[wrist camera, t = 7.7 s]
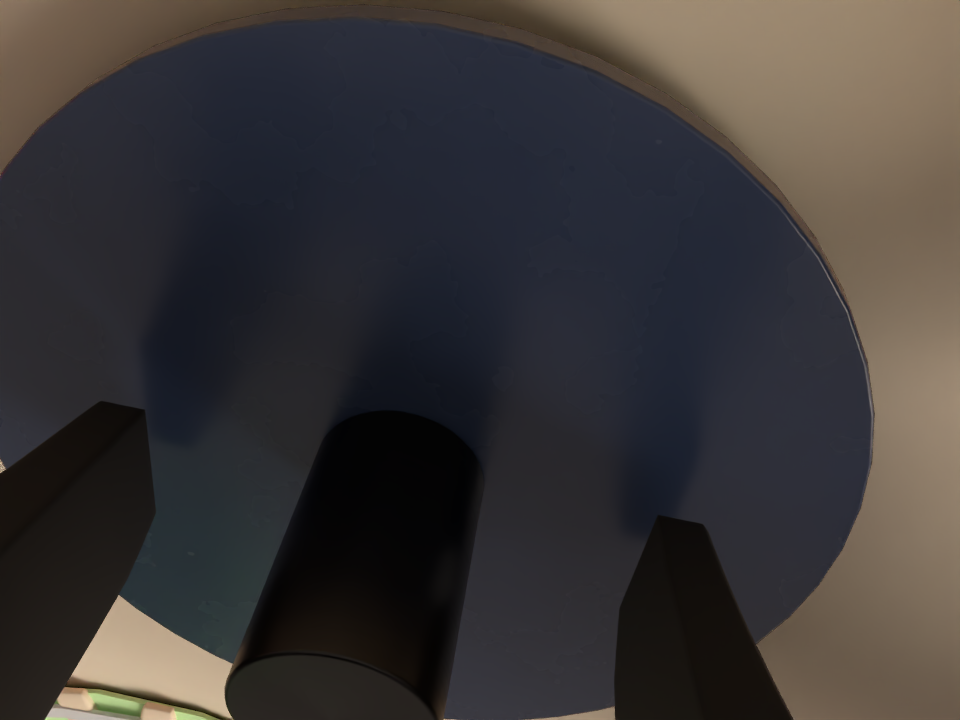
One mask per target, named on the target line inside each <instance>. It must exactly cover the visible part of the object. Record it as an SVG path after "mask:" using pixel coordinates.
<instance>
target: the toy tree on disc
mask: <svg viewBox="0 0 960 720" xmlns="http://www.w3.org/2000/svg"><path fill="white" fill-rule="evenodd" d="M45 720H220V719H217V718H215V717H212V716H210V715H207V714H205V713H202V712H198V711H194V710H189V709H185V708H180V707H176V706H171V705H167V704H162V703H158V702H154V701H149V700H145V699H140V698H136V697H131V696H127V695H123V694H118V693H114V692H109V691H105V690H99V689H84V688H69V687H64V688H63V690H62V692H61V693H60V695H59V697H58V698H57V700H56V702H55V703H54V705H53V707H52V709H51V710H50V712H49V714H48V715H47V717H46V719H45Z"/></svg>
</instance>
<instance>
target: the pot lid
mask: <svg viewBox="0 0 960 720" xmlns="http://www.w3.org/2000/svg"><path fill="white" fill-rule="evenodd" d="M100 401H105V402H110V403H115V404H120V405H124V406H129V407H134V408H139V409H144V410H145V413H146V422H147V431H148V441H149V450H150V460H151V469H152V478H153V488H154V497H155V507H156V514H155V517H154V519H153V521H152V524H151V526H150V529H149V531H148V533H147V536H146V538H145V540H144V543H143V545H142V548H141V550H140V552H139V554H138V557H137V559H136V561H135V563H134V566H133V568H132V570H131V572H130V575H129V577H128V579H127V581H126V583H125V584H124V586H123V588H122V590H121V591H120V593H119V595H120V596H121V597H122V598H124V599H125V600H126V601H127V602H129V603H130V604H131V605H133V606H134V607H135V608H136V609H138V610H139V611H141V612H143V613H144V614H146V615H147V616H149V617H150V618H152V619H153V620H155V621H156V622H158V623H159V624H161V625H162V626H164V627H165V628H167V629H168V630H170V631H172V632H173V633H175V634H176V635H178V636H180V637H182V638H184V639H186V640H187V641H189V642H191V643H193V644H195V645H196V646H198V647H200V648H202V649H204V650H206V651H207V652H209V653H211V654H213V655H215V656H217V657H219V658H222V659H224V660H226V661H228V662H230V663H232V664H233V665H232V668H231V670H230V673H229V675H228V678H227V680H226V685H225V701H226V705H227V708H228V711H229V713H230V715H231V716H232V718H233V719H234V720H443V719H454V720H527V719H539V718H552V717H561V716H567V715H573V714H579V713H585V712H592V711H598V710H602V709H606V708H610V707H614V706H615V694H614V674H615V659H616V644H617V632H618V620H619V608H620V605H621V603H622V601H623V598H624V596H625V593H626V591H627V589H628V586H629V584H630V581H631V579H632V576H633V574H634V572H635V569H636V567H637V564H638V562H639V559H640V557H641V555H642V552H643V550H644V547H645V545H646V543H647V540H648V538H649V535H650V533H651V530H652V528H653V526H654V523H655V521H656V518H657V516H658V515H662V516H666V517H671V518H676V519H681V520H686V521H691V522H696V523H701V524H703V525H704V526H705V528H706V529H707V530H708V532H709V535H710V537H711V540H712V543H713V545H714V548H715V550H716V553H717V555H718V558H719V561H720V563H721V565H722V568H723V570H724V573H725V575H726V578H727V580H728V583H729V585H730V587H731V590H732V592H733V594H734V597H735V599H736V601H737V604H738V606H739V608H740V611H741V613H742V615H743V617H744V620H745V622H746V624H747V626H748V628H749V631H750V633H751V635H752V637H753V639H754V641H755V644H757V643H758V642H760V641H761V640H762V639H763V638H764V637H766V636H767V635H768V634H769V633H770V632H772V631H773V630H774V629H775V628H777V627H778V626H779V625H780V624H781V623H783V622H784V621H785V620H786V619H788V618H789V617H790V616H791V615H792V614H793V613H794V611H795V610H796V609H797V608H798V607H799V606H800V605H801V604H802V603H803V602H804V601H805V599H806V598H807V597H808V596H809V595H810V594H811V593H812V592H813V591H814V590H815V589H816V587H817V586H818V585H819V584H820V582H821V581H822V579H823V578H824V576H825V575H826V573H827V572H828V570H829V569H830V567H831V566H832V564H833V563H834V561H835V560H836V558H837V557H838V555H839V554H840V552H841V551H842V549H843V547H844V545H845V542H846V540H847V538H848V536H849V533H850V531H851V529H852V527H853V524H854V522H855V520H856V518H857V515H858V513H859V511H860V509H861V505H862V501H863V497H864V493H865V489H866V485H867V481H868V477H869V472H870V468H871V464H872V453H873V435H874V416H875V413H874V405H873V398H872V390H871V383H870V375H869V368H868V361H867V358H866V355H865V352H864V349H863V346H862V343H861V340H860V337H859V334H858V331H857V328H856V325H855V322H854V319H853V316H852V313H851V309H850V307H849V304H848V301H847V298H846V295H845V293H844V290H843V288H842V286H841V284H840V282H839V280H838V279H837V277H836V275H835V273H834V271H833V269H832V267H831V265H830V263H829V262H828V260H827V258H826V256H825V254H824V252H823V250H822V248H821V247H820V245H819V243H818V241H817V239H816V237H815V236H814V234H813V233H812V232H811V230H810V229H809V228H808V227H807V225H806V224H805V223H804V221H803V220H802V219H801V217H800V216H799V215H798V213H797V212H796V211H795V209H794V208H793V207H792V205H791V204H790V203H789V202H788V200H787V199H786V198H785V196H784V195H783V194H782V192H781V191H780V190H779V188H778V187H777V186H776V185H775V184H774V183H773V182H772V181H771V180H770V179H769V178H768V177H767V176H766V175H765V174H764V173H763V172H762V171H761V170H760V169H759V168H758V167H757V166H756V165H755V164H754V163H753V162H752V161H751V160H750V159H749V158H747V157H746V156H745V155H744V154H743V153H742V152H741V151H740V150H739V149H738V148H737V147H736V146H735V145H734V144H733V143H732V142H731V141H730V140H729V139H728V138H727V137H726V136H724V135H723V134H722V133H720V132H719V131H717V130H716V129H715V128H713V127H712V126H711V125H709V124H708V123H706V122H705V121H704V120H702V119H701V118H699V117H698V116H697V115H695V114H694V113H693V112H691V111H690V110H688V109H687V108H686V107H684V106H683V105H681V104H680V103H679V102H677V101H676V100H674V99H673V98H672V97H670V96H669V95H668V94H666V93H665V92H663V91H661V90H659V89H657V88H655V87H653V86H651V85H649V84H648V83H646V82H644V81H642V80H640V79H638V78H636V77H634V76H632V75H631V74H629V73H627V72H625V71H623V70H621V69H619V68H617V67H615V66H614V65H612V64H610V63H608V62H606V61H604V60H602V59H600V58H598V57H597V56H594V55H591V54H588V53H586V52H583V51H580V50H578V49H575V48H572V47H569V46H567V45H564V44H561V43H559V42H556V41H553V40H550V39H548V38H545V37H542V36H540V35H537V34H534V33H532V32H529V31H526V30H523V29H520V28H516V27H511V26H507V25H502V24H498V23H493V22H489V21H484V20H480V19H475V18H471V17H467V16H462V15H458V14H453V13H449V12H444V11H434V10H423V9H411V8H399V7H388V6H376V5H365V4H364V5H345V6H326V7H307V8H288V9H283V10H278V11H273V12H268V13H263V14H258V15H253V16H248V17H243V18H238V19H233V20H228V21H223V22H218V23H215V24H212V25H210V26H207V27H204V28H202V29H199V30H196V31H193V32H191V33H188V34H185V35H183V36H180V37H177V38H175V39H172V40H169V41H166V42H164V43H161V44H158V45H156V46H153V47H151V48H150V49H148V50H146V51H144V52H143V53H141V54H139V55H137V56H136V57H134V58H132V59H130V60H129V61H127V62H125V63H123V64H122V65H120V66H118V67H116V68H115V69H113V70H111V71H109V72H108V73H106V74H104V75H102V76H101V77H99V78H98V79H96V80H95V81H94V82H92V83H91V84H90V85H88V86H87V87H86V88H85V89H83V90H82V91H81V92H80V93H78V94H77V95H76V96H75V97H74V98H72V99H71V100H70V101H69V102H68V103H66V104H65V105H64V106H63V107H62V108H61V109H59V110H58V111H57V112H56V113H55V114H53V115H52V116H51V117H50V118H49V119H47V120H46V121H45V122H44V123H43V124H41V125H40V126H39V127H38V128H37V129H36V130H35V132H34V133H33V134H32V135H31V136H30V138H29V139H28V140H27V141H26V143H25V144H24V145H23V146H22V147H21V149H20V150H19V151H18V152H17V154H16V155H15V156H14V157H13V159H12V160H11V161H10V162H9V163H8V165H7V166H6V167H5V168H4V170H3V171H2V173H1V175H0V459H1V461H2V463H3V465H4V466H5V468H6V469H7V468H9V467H10V466H11V465H13V464H14V463H15V462H17V461H18V460H20V459H21V458H22V457H24V456H25V455H26V454H28V453H29V452H31V451H32V450H33V449H35V448H36V447H37V446H39V445H40V444H41V443H43V442H44V441H46V440H47V439H48V438H50V437H51V436H52V435H54V434H55V433H56V432H58V431H59V430H60V429H62V428H63V427H65V426H66V425H67V424H69V423H70V422H71V421H73V420H74V419H75V418H77V417H78V416H79V415H81V414H82V413H84V412H85V411H86V410H88V409H89V408H91V407H92V406H93V405H95V404H97V403H98V402H100Z"/></svg>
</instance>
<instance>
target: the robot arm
mask: <svg viewBox="0 0 960 720" xmlns="http://www.w3.org/2000/svg"><path fill="white" fill-rule="evenodd" d="M155 514H156V507H155V497H154V488H153V478H152V469H151V460H150V450H149V441H148V431H147V422H146V413H145V410H144V409H139V408H134V407H129V406H124V405H120V404H115V403H110V402H105V401H100V402H98V403H97V404H95V405H93V406H92V407H91V408H89V409H88V410H86V411H85V412H84V413H82V414H81V415H79V416H78V417H77V418H75V419H74V420H73V421H71V422H70V423H69V424H67V425H66V426H65V427H63V428H62V429H60V430H59V431H58V432H56V433H55V434H54V435H52V436H51V437H50V438H48V439H47V440H46V441H44V442H43V443H41V444H40V445H39V446H37V447H36V448H35V449H33V450H32V451H31V452H29V453H28V454H26V455H25V456H24V457H22V458H21V459H20V460H18V461H17V462H15V463H14V464H13V465H11V466H10V467H9V468H7V469H6V470H4V471H3V472H2V473H0V720H45V719H46V717H47V715H48V714H49V712H50V710H51V709H52V707H53V705H54V703H55V702H56V700H57V698H58V697H59V695H60V693H61V692H62V690H63V688H64V687H65V685H66V683H67V682H68V680H69V678H70V677H71V675H72V673H73V671H74V670H75V668H76V666H77V665H78V663H79V661H80V660H81V658H82V656H83V655H84V653H85V651H86V650H87V648H88V646H89V645H90V643H91V641H92V639H93V638H94V636H95V634H96V633H97V631H98V629H99V628H100V626H101V624H102V622H103V621H104V619H105V617H106V616H107V614H108V612H109V610H110V609H111V607H112V605H113V604H114V602H115V600H116V598H117V597H118V595H119V593H120V591H121V590H122V588H123V586H124V584H125V583H126V581H127V579H128V577H129V575H130V572H131V570H132V568H133V566H134V563H135V561H136V559H137V557H138V554H139V552H140V550H141V548H142V545H143V543H144V540H145V538H146V536H147V533H148V531H149V529H150V526H151V524H152V521H153V519H154V517H155ZM614 694H615V720H794V719H793V717H792V716H791V714H790V712H789V710H788V708H787V706H786V704H785V702H784V700H783V698H782V697H781V695H780V693H779V691H778V689H777V687H776V685H775V683H774V681H773V679H772V677H771V674H770V672H769V670H768V668H767V666H766V664H765V662H764V660H763V658H762V656H761V654H760V652H759V650H758V648H757V646H756V644H755V641H754V639H753V637H752V635H751V633H750V631H749V628H748V626H747V624H746V622H745V620H744V617H743V615H742V613H741V611H740V608H739V606H738V604H737V601H736V599H735V597H734V594H733V592H732V590H731V587H730V585H729V583H728V580H727V578H726V575H725V573H724V570H723V568H722V565H721V563H720V561H719V558H718V555H717V553H716V550H715V548H714V545H713V543H712V540H711V537H710V535H709V532H708V530H707V529H706V528H705V526H704V525H703V524H701V523H696V522H691V521H686V520H681V519H676V518H671V517H666V516H662V515H658V516H657V518H656V521H655V523H654V526H653V528H652V530H651V533H650V535H649V538H648V540H647V543H646V545H645V547H644V550H643V552H642V555H641V557H640V559H639V562H638V564H637V567H636V569H635V572H634V574H633V576H632V579H631V581H630V584H629V586H628V589H627V591H626V593H625V596H624V598H623V601H622V603H621V605H620V608H619V620H618V632H617V644H616V659H615V674H614Z"/></svg>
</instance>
